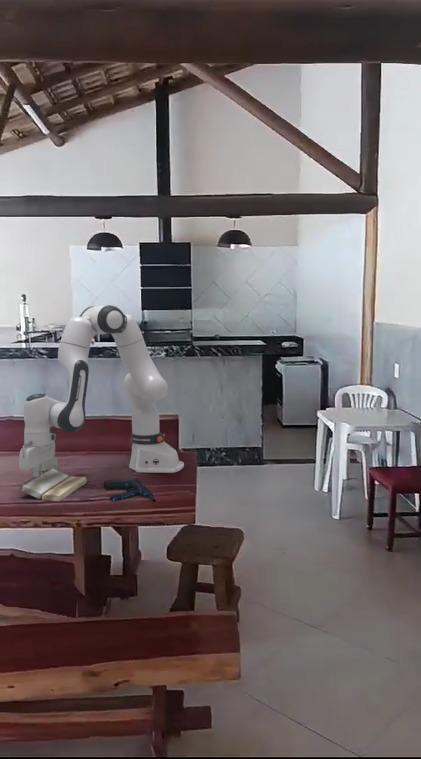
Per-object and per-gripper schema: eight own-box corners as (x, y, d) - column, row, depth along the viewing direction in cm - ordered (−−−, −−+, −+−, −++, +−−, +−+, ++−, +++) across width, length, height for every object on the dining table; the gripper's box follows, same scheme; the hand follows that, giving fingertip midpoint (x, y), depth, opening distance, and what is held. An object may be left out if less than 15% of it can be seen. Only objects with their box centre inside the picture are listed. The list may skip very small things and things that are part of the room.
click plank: (67, 480, 245) (69, 475, 245) (39, 499, 224) (41, 493, 223) (49, 472, 246) (50, 467, 246) (19, 489, 225) (21, 484, 225)
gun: (116, 510, 217) (158, 504, 223) (116, 502, 216) (158, 496, 222) (98, 488, 238) (137, 482, 244) (98, 480, 238) (137, 475, 244)
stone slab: (32, 478, 255) (58, 473, 257) (31, 471, 254) (57, 466, 256) (36, 463, 277) (60, 459, 278) (35, 457, 276) (59, 453, 278)
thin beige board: (86, 482, 243) (86, 477, 243) (59, 501, 222) (59, 495, 222) (69, 481, 245) (69, 476, 245) (42, 499, 224) (41, 494, 223)
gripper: (30, 446, 222) (31, 484, 224) (57, 433, 242) (58, 469, 244) (13, 444, 224) (14, 483, 226) (42, 432, 244) (43, 468, 245)
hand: (37, 476), depth 235 cm, fingers closed, pressing on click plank
